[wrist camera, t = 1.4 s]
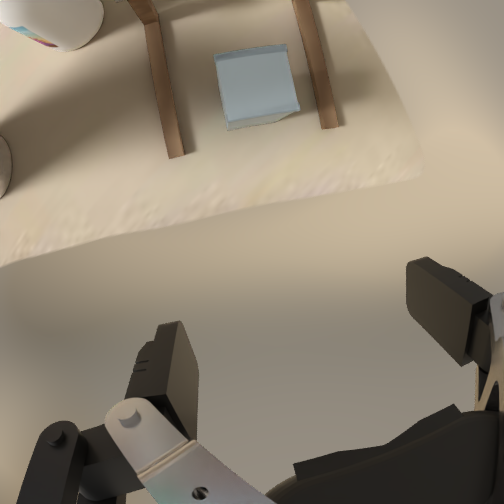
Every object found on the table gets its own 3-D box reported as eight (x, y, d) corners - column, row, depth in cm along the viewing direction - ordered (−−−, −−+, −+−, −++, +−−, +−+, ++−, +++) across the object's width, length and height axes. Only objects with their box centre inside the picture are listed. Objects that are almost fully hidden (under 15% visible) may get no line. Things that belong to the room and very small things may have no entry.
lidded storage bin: (226, 132, 31) (227, 122, 21) (217, 84, 30) (213, 54, 19) (276, 122, 32) (300, 110, 21) (266, 76, 30) (285, 43, 19)
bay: (170, 158, 32) (154, 161, 24) (144, 18, 27) (125, -13, 19) (334, 127, 32) (365, 122, 24) (302, -8, 27) (321, -41, 19)
